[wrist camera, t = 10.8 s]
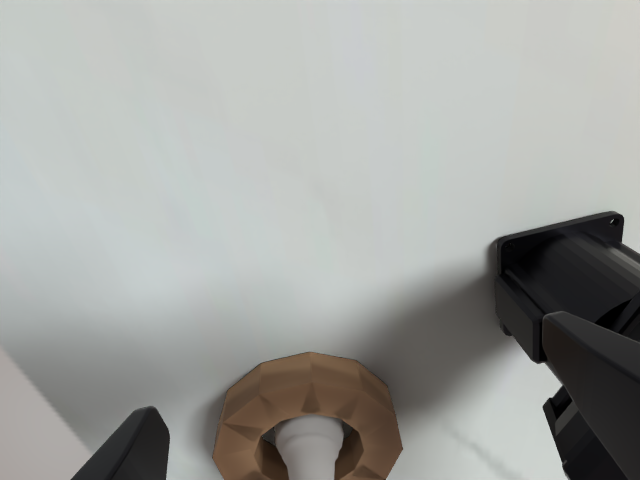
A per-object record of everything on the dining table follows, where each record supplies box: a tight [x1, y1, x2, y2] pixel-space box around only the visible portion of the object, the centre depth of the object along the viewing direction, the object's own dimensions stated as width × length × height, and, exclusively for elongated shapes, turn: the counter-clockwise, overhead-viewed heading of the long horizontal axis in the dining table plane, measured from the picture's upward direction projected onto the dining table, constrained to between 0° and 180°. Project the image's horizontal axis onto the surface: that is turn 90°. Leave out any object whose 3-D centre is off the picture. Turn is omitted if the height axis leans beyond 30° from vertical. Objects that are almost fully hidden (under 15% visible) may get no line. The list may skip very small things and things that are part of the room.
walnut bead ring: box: [212, 352, 403, 480], centre depth 26 cm, size 11×11×2 cm
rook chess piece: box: [274, 414, 344, 480], centre depth 23 cm, size 4×4×8 cm
